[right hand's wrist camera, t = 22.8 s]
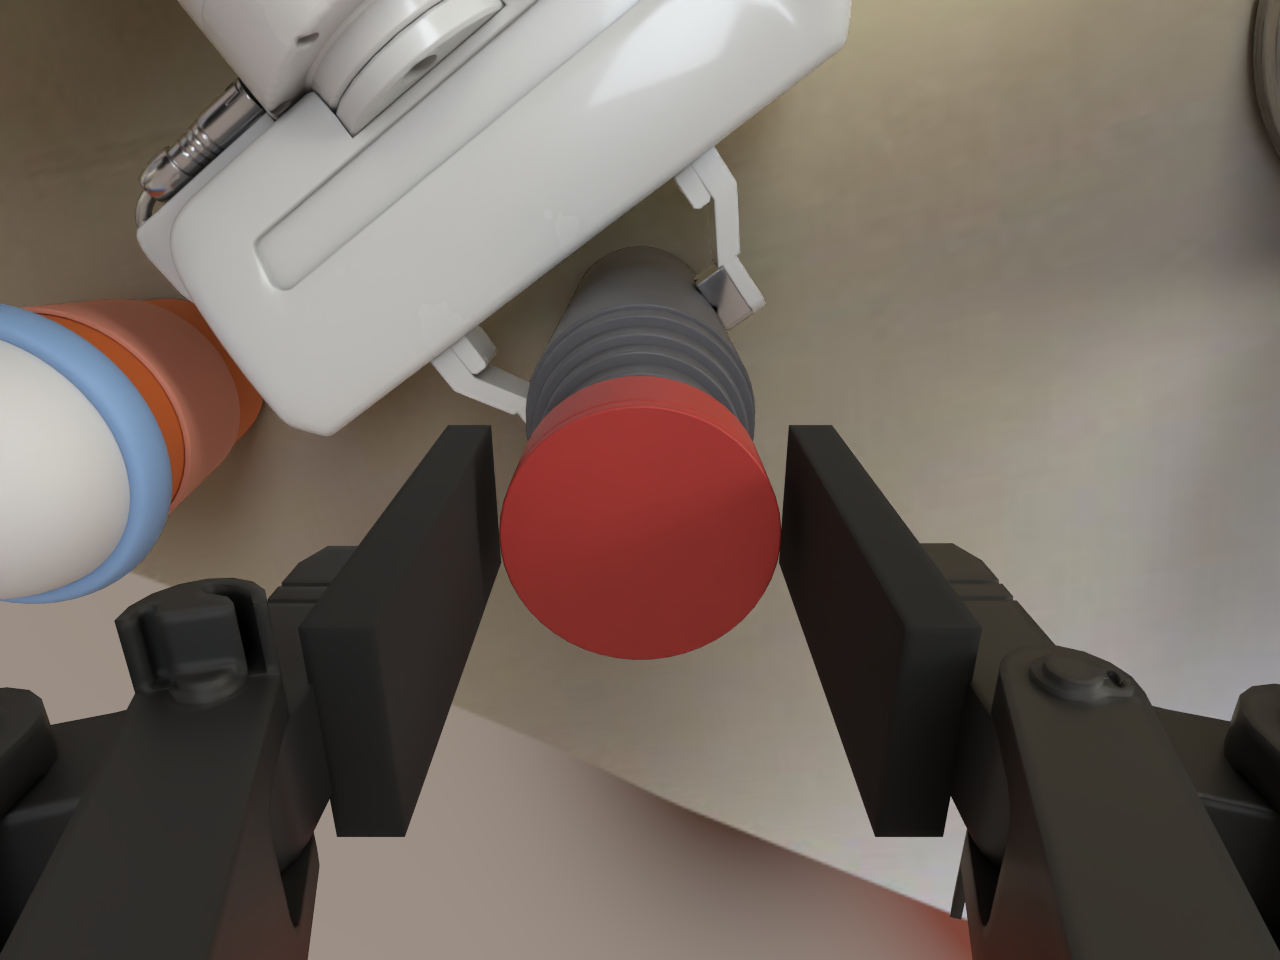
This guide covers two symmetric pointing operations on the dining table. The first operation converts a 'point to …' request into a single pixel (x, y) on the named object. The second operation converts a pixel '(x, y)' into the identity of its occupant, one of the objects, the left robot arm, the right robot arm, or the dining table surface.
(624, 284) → the bottle
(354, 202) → the left robot arm
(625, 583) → the cap
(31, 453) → the cup with straw
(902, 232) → the dining table surface
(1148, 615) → the dining table surface
